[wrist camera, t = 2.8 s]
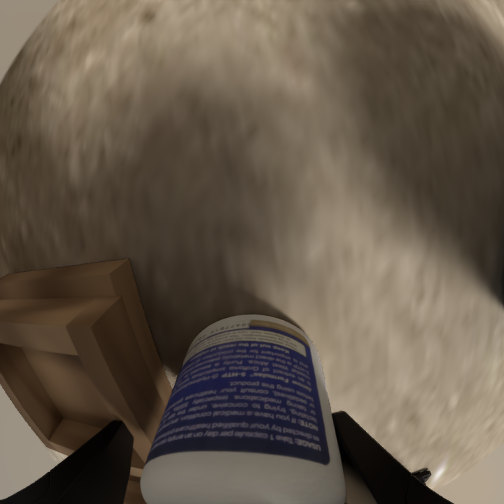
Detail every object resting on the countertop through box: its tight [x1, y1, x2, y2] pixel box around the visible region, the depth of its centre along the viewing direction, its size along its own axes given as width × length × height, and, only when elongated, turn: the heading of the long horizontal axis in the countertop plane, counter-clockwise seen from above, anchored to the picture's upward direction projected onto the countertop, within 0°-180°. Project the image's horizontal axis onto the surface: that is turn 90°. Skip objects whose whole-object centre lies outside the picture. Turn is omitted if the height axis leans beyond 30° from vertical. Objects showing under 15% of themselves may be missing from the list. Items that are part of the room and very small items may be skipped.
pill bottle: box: [140, 314, 346, 504], centre depth 6 cm, size 5×5×9 cm
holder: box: [0, 259, 172, 504], centre depth 12 cm, size 8×24×4 cm, turn 7°
